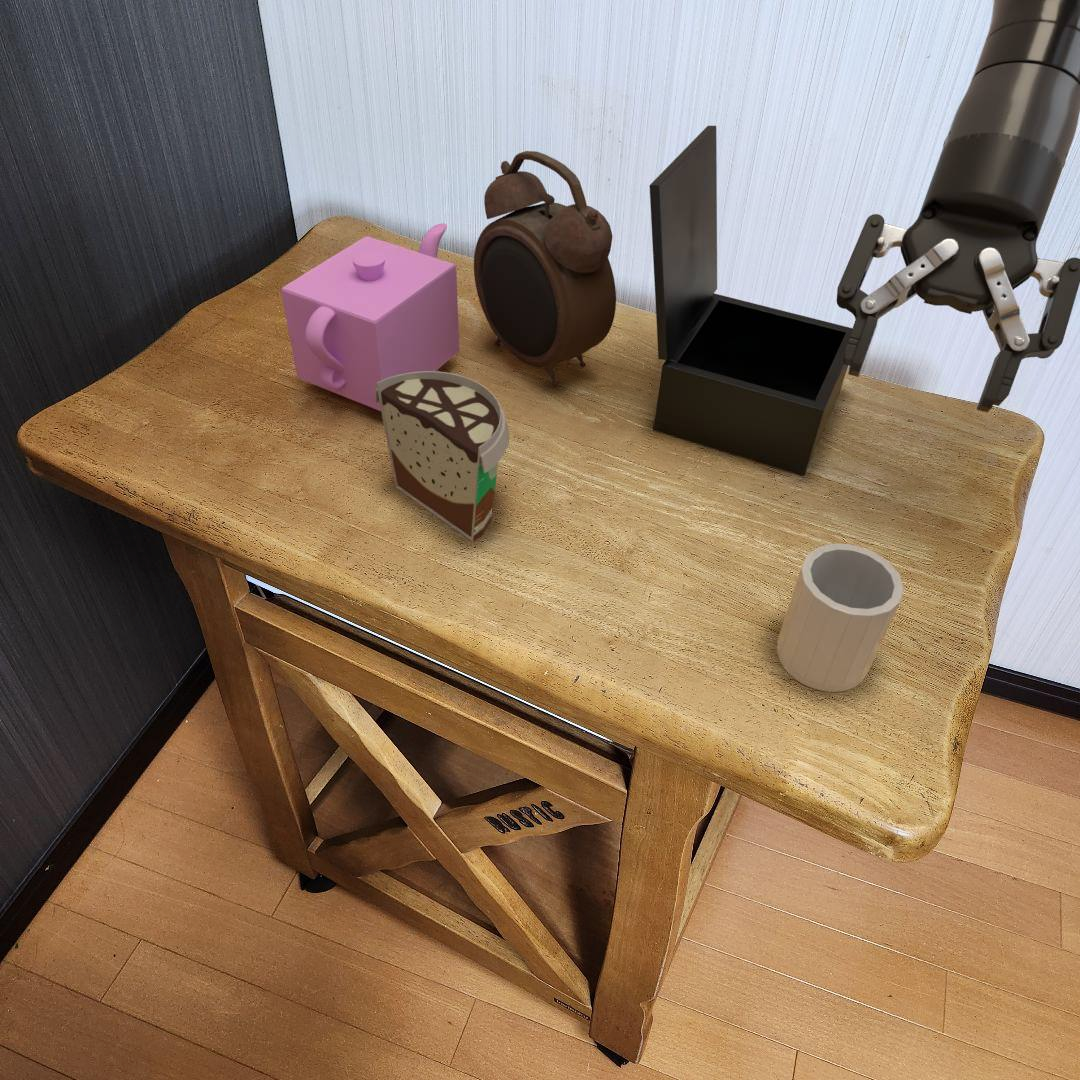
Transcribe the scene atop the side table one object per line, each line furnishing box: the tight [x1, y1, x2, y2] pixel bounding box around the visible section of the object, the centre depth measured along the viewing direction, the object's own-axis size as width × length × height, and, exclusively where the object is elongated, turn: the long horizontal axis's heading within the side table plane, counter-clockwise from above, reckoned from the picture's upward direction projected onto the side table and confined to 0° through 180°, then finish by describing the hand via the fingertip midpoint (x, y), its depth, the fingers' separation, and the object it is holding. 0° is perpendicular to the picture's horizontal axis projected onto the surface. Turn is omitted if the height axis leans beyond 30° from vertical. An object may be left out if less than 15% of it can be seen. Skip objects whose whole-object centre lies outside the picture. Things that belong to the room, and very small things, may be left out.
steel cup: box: [776, 542, 905, 693], centre depth 62 cm, size 6×6×8 cm
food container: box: [375, 371, 510, 543], centre depth 72 cm, size 12×6×10 cm, turn 47°
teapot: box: [280, 222, 460, 412], centre depth 84 cm, size 20×10×12 cm, turn 150°
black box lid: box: [649, 125, 718, 361], centre depth 77 cm, size 15×14×1 cm
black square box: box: [652, 293, 853, 477], centre depth 83 cm, size 14×14×7 cm
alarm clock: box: [473, 150, 617, 388], centre depth 83 cm, size 15×7×20 cm, turn 41°
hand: (917, 390), depth 61 cm, fingers open, 8 cm apart
